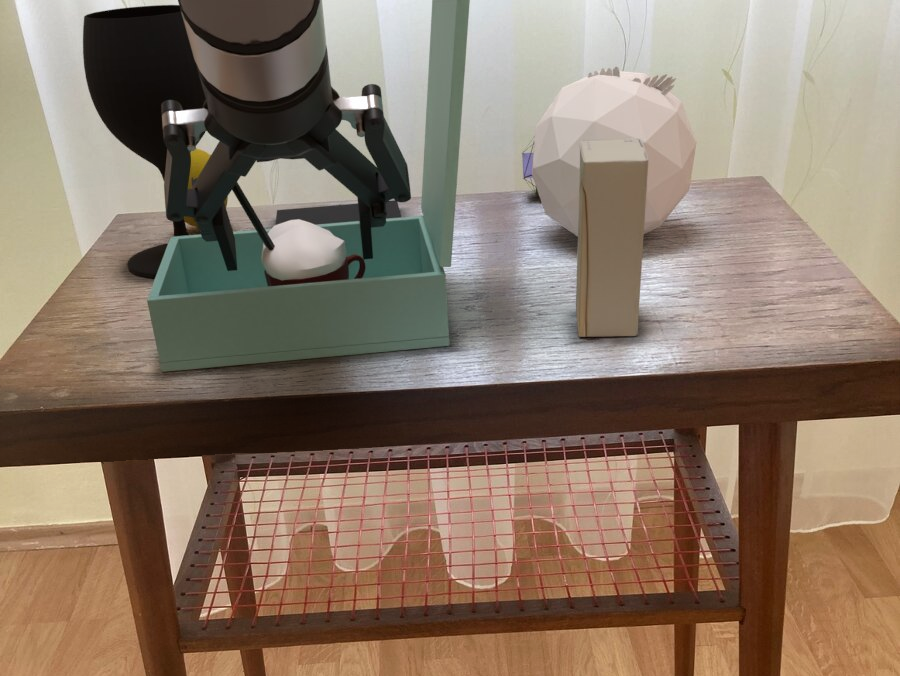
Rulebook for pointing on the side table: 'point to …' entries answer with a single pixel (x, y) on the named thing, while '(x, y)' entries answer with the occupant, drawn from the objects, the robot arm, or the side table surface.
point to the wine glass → (141, 87)
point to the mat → (331, 213)
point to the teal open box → (297, 301)
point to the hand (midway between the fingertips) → (299, 248)
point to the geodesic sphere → (606, 118)
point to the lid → (444, 122)
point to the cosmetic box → (610, 236)
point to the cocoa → (300, 251)
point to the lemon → (197, 164)
